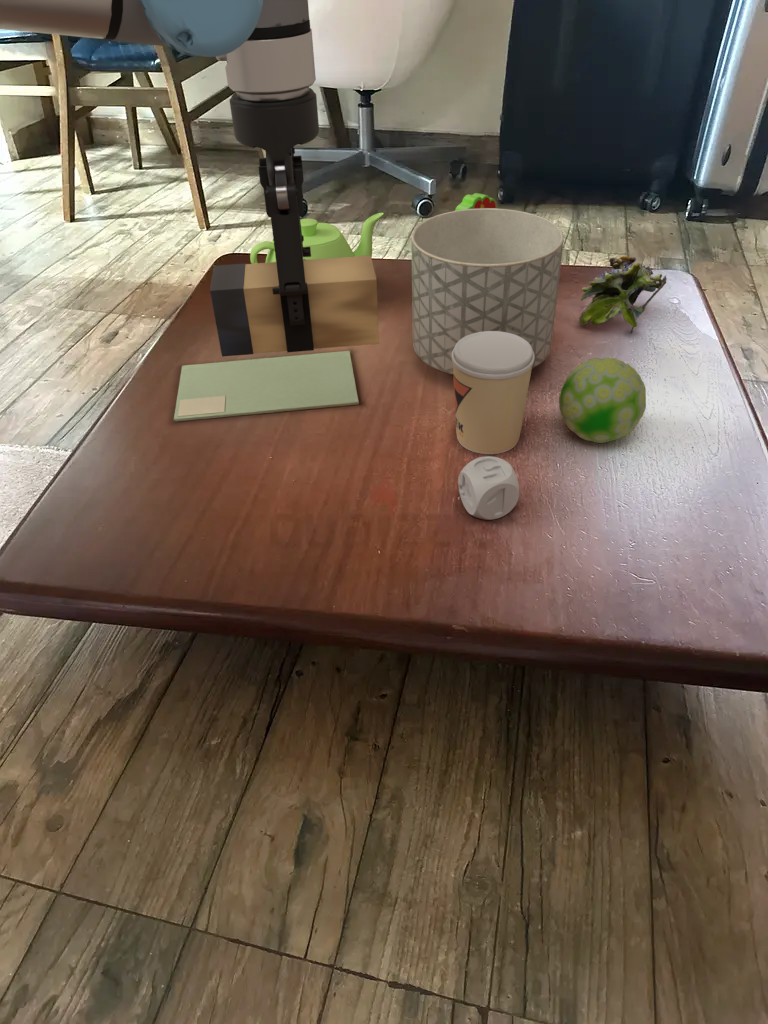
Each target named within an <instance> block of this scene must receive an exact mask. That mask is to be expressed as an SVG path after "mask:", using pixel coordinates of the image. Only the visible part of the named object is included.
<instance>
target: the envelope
mask: <svg viewBox="0 0 768 1024" xmlns="http://www.w3.org/2000/svg"><path fill="white" fill-rule="evenodd" d="M354 373H355V372H354V369H353V362H352V357H351V351H350V350H343V351H342V350H341V351H332V352H331V351H330V352H319V353H308V354H296V355H285V356H275V357H265V358H252V359H242V360H229V361H220V362H207V363H196V364H186V365H181V370H180V377H179V383H178V389H177V394H176V395H177V396H176V403H175V408H174V416H173V422H174V423H175V422H186V421H187V422H188V421H197V420H208V419H217V418H218V419H219V418H230V417H239V416H240V417H241V416H250V415H251V416H252V415H258V414H259V415H261V414H271V413H282V412H291V411H292V412H294V411H303V410H304V411H305V410H313V409H315V410H316V409H325V408H335V407H346V406H355V405H357V406H358V405H359V404H360V403H359V396H358V391H357V386H356V380H355V374H354Z"/></svg>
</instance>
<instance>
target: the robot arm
mask: <svg viewBox="0 0 768 1024" xmlns="http://www.w3.org/2000/svg"><path fill="white" fill-rule="evenodd" d="M309 10H310V9H309V0H0V30H5V31H15V32H16V31H17V32H26V33H38V34H47V35H58V36H67V37H68V36H69V37H77V38H78V37H79V38H88V39H90V38H91V39H100V40H101V39H102V40H108V41H109V40H110V41H112V42H120V43H130V44H139V45H150V46H161V47H169V48H171V49H173V50H176V51H177V52H179V53H180V54H181V55H186V56H191V57H204V58H215V59H216V60H217V61H219V62H227V63H226V65H225V75H226V82H227V86H228V88H230V90H231V91H233V92H234V93H233V94H232V95H231V96H230V99H229V107H230V114H231V120H232V127H233V135H234V138H235V140H236V141H237V142H238V144H241V145H242V146H245V147H247V148H252V149H255V148H259V149H261V150H263V151H264V152H265V157H259V158H258V164H259V165H258V177H259V184H260V186H261V187H262V188H263V196H264V204H265V212H266V215H267V217H268V218H270V222H271V223H270V224H271V231H272V240H274V248H275V256H276V264H277V272H278V280H279V286H278V287H273V289H272V290H273V295H276V294H280V298H281V306H282V314H283V322H284V330H285V338H286V345H287V351H286V352H287V353H299V352H310V351H312V352H313V351H315V349H314V345H313V335H312V325H311V315H310V306H309V296H308V287H307V283H306V282H305V272H304V262H303V257H311V249H310V247H303V241H304V237H303V235H302V231H301V221H300V220H301V216H302V215H303V214H304V211H305V208H304V207H305V206H304V195H303V186H302V185H303V183H304V171H303V170H304V169H303V158H302V155H295V154H296V150H295V146H297V145H298V146H299V145H300V146H302V145H306V144H308V143H310V142H312V141H313V140H315V139H316V138H317V137H318V135H319V132H320V125H319V123H320V122H319V112H318V99H317V93H316V92H315V91H314V89H312V87H311V86H313V85H314V83H315V82H316V81H317V78H316V66H315V52H314V42H313V30H312V28H311V19H310V11H309ZM304 260H306V259H304Z"/></svg>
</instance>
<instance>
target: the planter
mask: <svg viewBox="0 0 768 1024" xmlns="http://www.w3.org/2000/svg"><path fill="white" fill-rule="evenodd" d="M498 208H499V207H498ZM498 208H476V209H465V210H457V211H455V210H452V211H448V212H443V213H440V214H437V215H434V216H432V217H428V218H427V219H425V220H423V221H421V223H419V224H417V225H416V227H414V229H413V230H412V232H411V239H410V240H411V243H410V245H411V302H412V303H411V310H412V312H411V314H412V316H411V317H412V318H411V319H412V347H413V351H414V353H415V355H416V356H417V357H418V359H420V360H421V361H422V362H423V363H424V364H426V365H427V366H429V367H431V368H432V369H435V370H437V371H440V372H443V373H446V374H449V375H453V362H452V351H453V349H454V347H455V345H456V344H457V342H458V341H459V340H460V339H462V338H463V337H465V336H467V335H470V334H473V333H477V332H484V331H500V332H507V333H511V334H514V335H517V336H519V337H521V338H523V339H525V340H526V341H527V342H528V343H529V344H530V345H531V347H532V350H533V352H534V363H533V365H532V369H534V368H535V367H538V366H539V365H540V364H542V363H543V362H544V361H546V359H547V358H548V356H549V355H550V353H551V350H552V345H553V337H554V336H553V335H554V327H555V318H556V309H557V301H558V291H559V284H560V275H561V267H562V257H563V256H562V255H563V250H564V239H565V236H564V233H563V230H562V229H561V228H560V227H559V226H558V225H557V224H556V223H555V222H554V221H551V220H549V219H548V218H545V217H544V216H540V215H538V214H534V213H531V212H527V211H522V210H518V209H517V210H516V209H510V208H509V209H508V208H499V209H498Z"/></svg>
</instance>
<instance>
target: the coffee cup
mask: <svg viewBox="0 0 768 1024" xmlns="http://www.w3.org/2000/svg"><path fill="white" fill-rule="evenodd" d="M452 362H453V374H452V375H453V377H452V378H453V396H454V398H453V399H454V416H455V419H454V420H455V430H456V431H455V434H456V439H457V441H458V443H459V444H460V445H461V447H463V448H464V449H466V450H468V451H470V452H472V453H475V454H481V455H498V454H503V453H506V452H508V451H511V450H512V449H513V448H514V447H516V446H517V444H518V443H519V441H520V438H521V437H520V436H521V433H522V427H523V421H524V415H525V411H526V404H527V399H528V393H529V387H530V382H531V374H532V369H533V368H532V365H533V363H534V352H533V350H532V347H531V345H530V344H529V343H528V342H527V341H526V340H525V339H523V338H521V337H519V336H517V335H514V334H511V333H507V332H500V331H484V332H477V333H473V334H470V335H467V336H465V337H463V338H462V339H460V340H459V341H458V342H457V344H456V345H455V347H454V349H453V351H452Z"/></svg>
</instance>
